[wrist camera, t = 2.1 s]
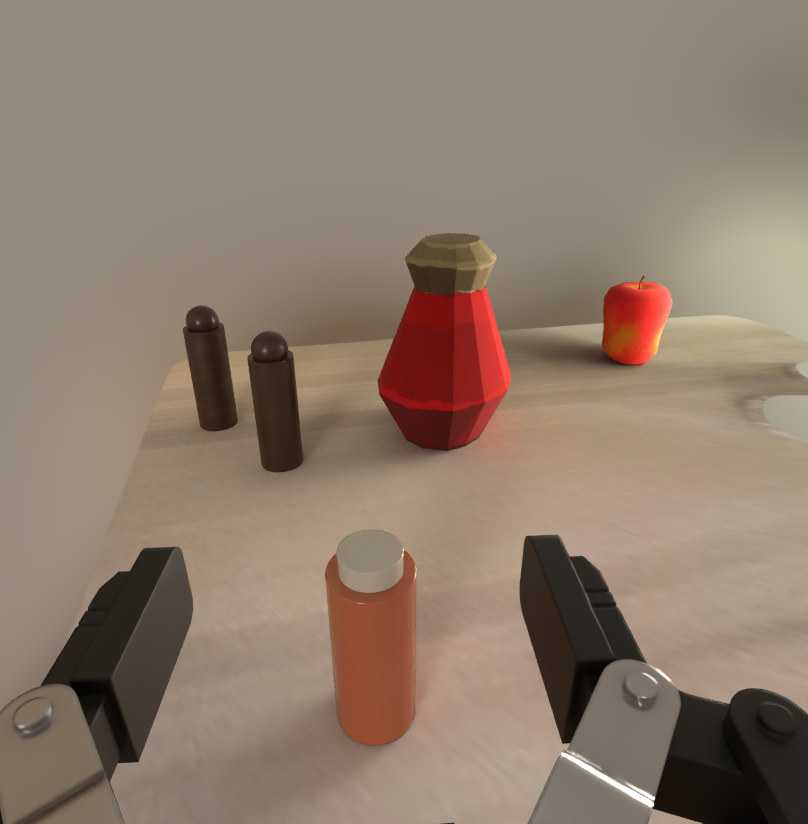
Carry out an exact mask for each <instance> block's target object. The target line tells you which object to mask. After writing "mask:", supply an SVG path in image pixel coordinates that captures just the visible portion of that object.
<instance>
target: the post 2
mask: <svg viewBox="0 0 808 824" xmlns="http://www.w3.org/2000/svg"><path fill="white" fill-rule="evenodd" d="M251 352H252V353H251V354H250V355H249V356H248V366H249V373H250V381H251V388H252V396H253V403H254V411H255V418H256V426H257V434H258V441H259V449H260V456H261V464H262V466H263V468H265V469H266V470H268V471H272V472H285V471H290V470H293V469H295V468H297V467H298V466H300V465H301V463H302V462H303V453H302V442H301V432H300V421H299V411H298V400H297V390H296V379H295V369H294V358H293V353H292V352H291V351H289V350H288V346H287V342H286V341H285V339H284V338H283V337H282V336H281V335H280V334H278V333H276V332H273V331H266V332H262V333H260V334H259V335H257V336H256V337H255V339H254V340H253V342H252V345H251Z"/></svg>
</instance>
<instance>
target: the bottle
mask: <svg viewBox="0 0 808 824" xmlns="http://www.w3.org/2000/svg"><path fill="white" fill-rule="evenodd" d="M496 257H497V256H496V255H495V254H494V253H493V251H492V250H491V249H490V248H489V247H488V246H487V245H486V244H485V242H484V241H483V240H482V239H481V238H480V237H479V236H475V235H469V234H437V235H432V236H426V237H425V238H423V239H422V240H421V241H420V242H419V243H418V244H417V245H416V246H415V248H413V249H412V251H411V252H410V253H409V254H408V255H407V256H406V257H405V260H406V263H407V266H408V269H409V271H410V274H411V277H412V280H413V282H414V285H415V286H414V289H413V291H412V294H411V296H410V299H409V302H408V304H407V307H406V309H405V312H404V314H403V317H402V319H401V322H400V325H399V327H398V330H397V333H396V335H395V337H394V340H393V343H392V345H391V348H390V350H389V353H388V355H387V358H386V360H385V363H384V366H383V368H382V371H381V373H380V376H379V378H378V387H379V394H380V396H381V398H382V399H383V401H384V403H385V404H386V406H387V408H388V410H389V411H390V413H391V415H392V416H393V418H394V420H395V421H396V423H397V425H398V426H399V428H400V430H401V431H402V433H403V435H404V436H405V438H406V440H408V441H410V442H412V443H414V444H416V445H418V446H420V447H422V448H426V449H436V450H447V451H448V450H451V449H455V448H459V447H463V446H466V445H467V444H469V443H471V442H472V441H474V440H475V439H477V438H478V437H479V436H480V434H481V433H482V431H483V429H484V428H485V426H486V424H487V423H488V421H489V420H490V418H491V416H492V415H493V413H494V412H495V410H496V408H497V407H498V405H499V404H500V402H501V400H502V399H503V397H504V395H505V394H506V392H507V390H508V386H509V383H510V380H511V374H510V371H509V367H508V363H507V360H506V356H505V353H504V349H503V346H502V342H501V339H500V335H499V331H498V328H497V325H496V321H495V317H494V314H493V310H492V307H491V303H490V299H489V296H488V292H487V289H486V286H485V284H486V281H487V279H488V277H489V274H490V272H491V270H492V267H493V265H494V262H495V260H496Z"/></svg>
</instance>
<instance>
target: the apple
mask: <svg viewBox="0 0 808 824" xmlns="http://www.w3.org/2000/svg"><path fill="white" fill-rule="evenodd" d="M644 278H645V277H644V275H643V277H642V279H641V281H640V282H629V283H628V282H627V283H622V284H619V285H616V286H613V287H611V288H610V289H609V291H608V292H607V294H606V295H605V297H604V308H603V314H604V331H603V340H602V347H603V349H604V350H605V352H606V353H607V354H608V355H609V356H610V357H611V358H612V359H613V360H614V361H617V362H620V363H624V364H643V363H645V362H646V361H647V360H649V359H650V358H651V357H653V356H654V355H655V354H656V352H657V348H658V343H659V339H660V335H661V332H662V330H663V327H664V325H665V322H666V320H667V317H668V314H669V312H670V308H671V306H672V300H671V296H670V292H669V291H668V289H666V288H664V287H662V286H660V285H659V284H656V283H651V282H642V281H643V280H644Z"/></svg>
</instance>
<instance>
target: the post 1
mask: <svg viewBox="0 0 808 824" xmlns="http://www.w3.org/2000/svg"><path fill="white" fill-rule="evenodd" d="M186 325H187V326H186V327H184V328H183V333H184V339H185V344H186V350H187V355H188V361H189V366H190V372H191V377H192V383H193V388H194V394H195V399H196V405H197V410H198V416H199V421H200V426H201V428H203V429H205V430H208V431H220V430H225V429H228V428H230V427H232V426H234V425H235V424H236V423H237V421H238V419H237V412H236V405H235V398H234V392H233V385H232V378H231V371H230V365H229V358H228V351H227V345H226V338H225V331H224V325H223V324H222V323H219V319H218V316H217V314H216V313H215V311H214V310H213V309H211V308H209V307H207V306H196V307H194V308H192V309H191V310H190V311H189V312H188V314H187V316H186Z"/></svg>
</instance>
